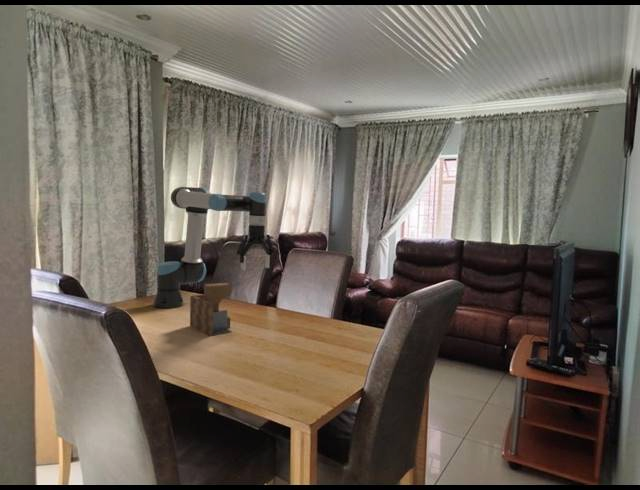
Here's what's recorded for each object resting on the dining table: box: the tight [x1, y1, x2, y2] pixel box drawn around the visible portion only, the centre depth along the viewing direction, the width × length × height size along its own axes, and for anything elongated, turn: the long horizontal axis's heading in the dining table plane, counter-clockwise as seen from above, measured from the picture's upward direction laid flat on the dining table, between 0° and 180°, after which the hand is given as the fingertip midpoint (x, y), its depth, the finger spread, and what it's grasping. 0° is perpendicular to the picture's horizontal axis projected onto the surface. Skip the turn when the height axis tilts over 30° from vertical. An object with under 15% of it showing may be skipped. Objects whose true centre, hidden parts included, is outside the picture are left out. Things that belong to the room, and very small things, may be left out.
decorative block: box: [203, 282, 232, 329], centre depth 187 cm, size 11×6×20 cm, turn 119°
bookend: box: [212, 309, 232, 337], centre depth 180 cm, size 5×9×9 cm, turn 133°
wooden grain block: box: [189, 293, 214, 337], centre depth 185 cm, size 18×10×14 cm, turn 43°
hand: (255, 268), depth 199 cm, fingers open, 13 cm apart
